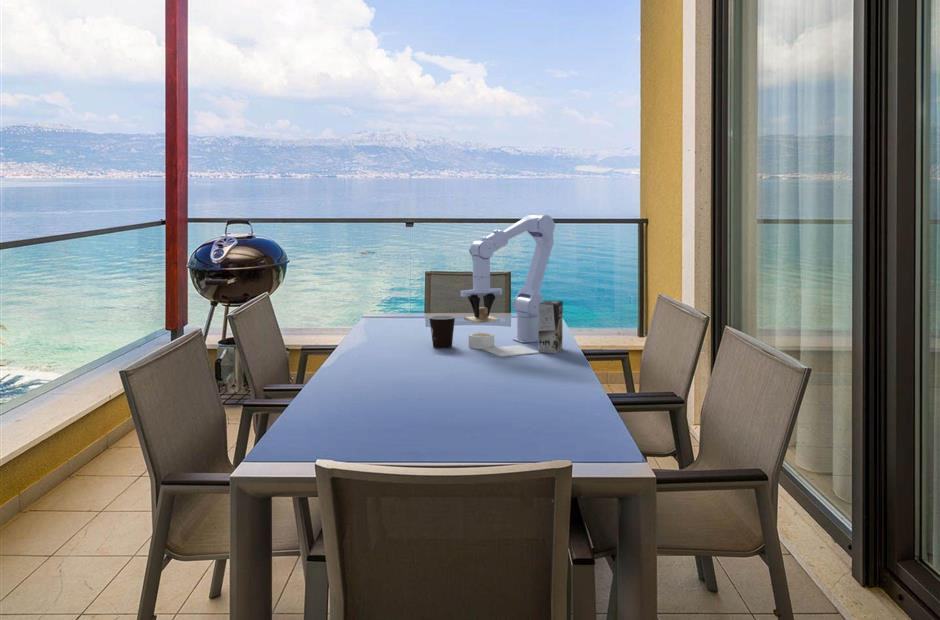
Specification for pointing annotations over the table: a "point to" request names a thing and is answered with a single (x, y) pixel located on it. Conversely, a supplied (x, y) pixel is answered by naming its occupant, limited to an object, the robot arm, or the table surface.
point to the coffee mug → (442, 331)
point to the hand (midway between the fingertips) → (481, 316)
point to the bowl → (481, 340)
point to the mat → (510, 351)
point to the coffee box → (550, 326)
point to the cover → (482, 317)
